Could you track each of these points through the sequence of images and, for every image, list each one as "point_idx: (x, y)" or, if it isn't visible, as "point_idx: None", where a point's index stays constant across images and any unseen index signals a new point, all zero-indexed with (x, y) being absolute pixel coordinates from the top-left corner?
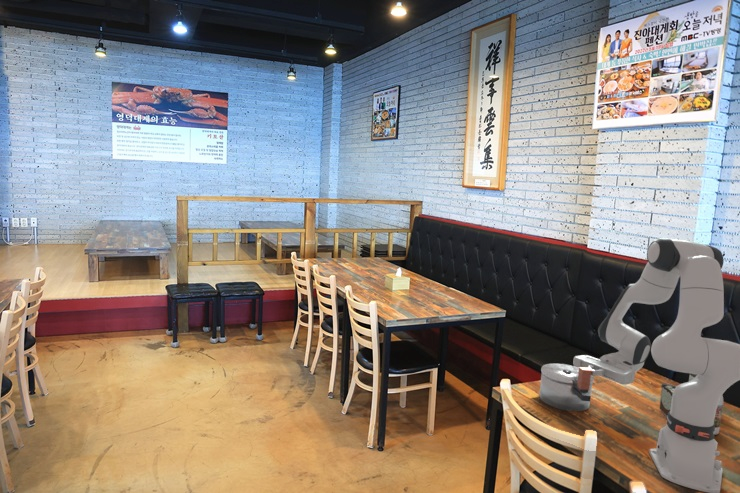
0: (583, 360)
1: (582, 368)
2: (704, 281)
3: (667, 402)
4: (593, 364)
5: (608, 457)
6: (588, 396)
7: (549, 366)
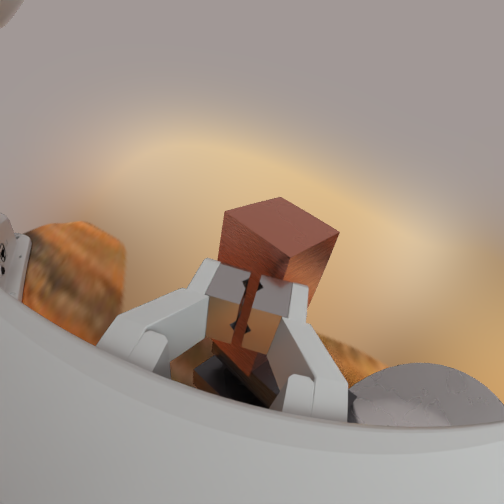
0: (468, 427)
1: (300, 215)
2: None
3: None
4: (306, 417)
5: (112, 253)
6: (204, 362)
7: None
